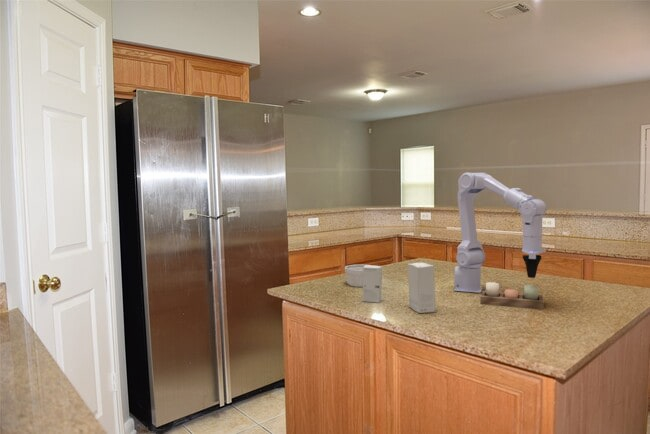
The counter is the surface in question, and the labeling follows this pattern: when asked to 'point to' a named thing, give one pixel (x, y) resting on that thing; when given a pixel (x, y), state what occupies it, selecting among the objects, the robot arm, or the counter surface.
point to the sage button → (531, 292)
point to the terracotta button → (511, 293)
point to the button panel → (511, 301)
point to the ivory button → (492, 289)
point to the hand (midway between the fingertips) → (531, 277)
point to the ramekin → (354, 275)
